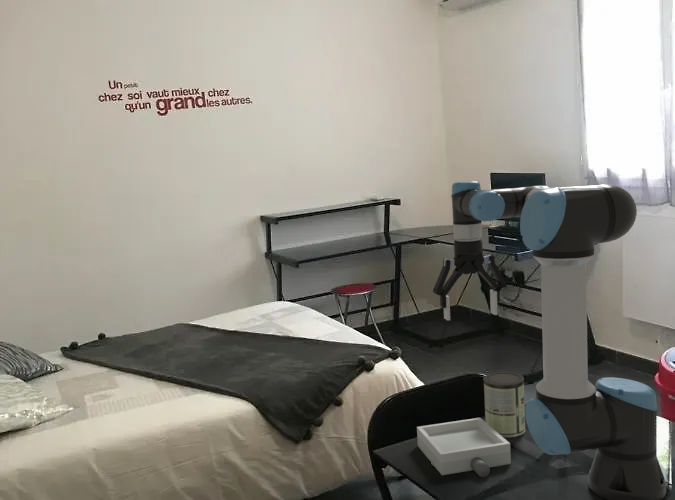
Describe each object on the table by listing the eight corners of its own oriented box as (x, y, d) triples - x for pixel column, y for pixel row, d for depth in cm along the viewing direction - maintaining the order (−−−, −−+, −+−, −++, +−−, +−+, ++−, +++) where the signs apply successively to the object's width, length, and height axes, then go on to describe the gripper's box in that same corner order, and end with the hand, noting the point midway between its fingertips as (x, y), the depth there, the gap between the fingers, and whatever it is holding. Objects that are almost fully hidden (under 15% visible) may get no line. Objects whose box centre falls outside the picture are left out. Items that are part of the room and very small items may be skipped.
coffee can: (483, 422, 187) (481, 372, 185) (522, 421, 186) (520, 371, 184) (487, 438, 177) (485, 385, 175) (528, 437, 176) (527, 384, 174)
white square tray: (518, 471, 158) (518, 450, 157) (448, 483, 155) (447, 461, 154) (480, 436, 178) (480, 417, 178) (417, 445, 175) (416, 426, 174)
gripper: (504, 233, 192) (507, 308, 195) (418, 241, 187) (422, 318, 190) (517, 236, 185) (519, 314, 188) (428, 244, 180) (432, 324, 183)
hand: (470, 316), depth 189 cm, fingers open, 13 cm apart
